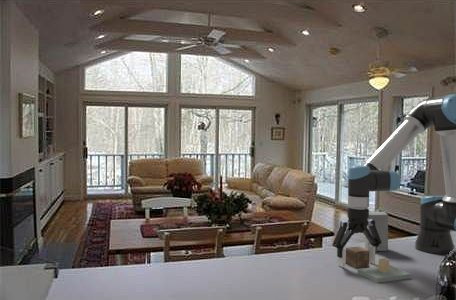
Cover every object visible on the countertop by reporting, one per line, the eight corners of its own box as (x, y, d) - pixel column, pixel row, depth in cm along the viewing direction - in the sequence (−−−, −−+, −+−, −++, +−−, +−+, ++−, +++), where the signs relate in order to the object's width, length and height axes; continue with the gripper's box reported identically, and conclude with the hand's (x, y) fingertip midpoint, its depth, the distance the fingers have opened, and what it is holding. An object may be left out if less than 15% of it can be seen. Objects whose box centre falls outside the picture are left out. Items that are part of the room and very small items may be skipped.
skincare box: (384, 247, 181) (384, 211, 181) (388, 252, 174) (389, 214, 174) (363, 246, 182) (364, 210, 182) (367, 251, 175) (368, 213, 175)
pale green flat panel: (389, 269, 151) (390, 254, 151) (410, 278, 142) (411, 262, 141) (357, 273, 146) (357, 257, 146) (377, 282, 137) (377, 266, 137)
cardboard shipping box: (358, 262, 160) (358, 246, 159) (369, 266, 154) (369, 250, 154) (345, 263, 157) (345, 247, 157) (355, 268, 152) (355, 251, 152)
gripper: (378, 204, 163) (377, 258, 163) (323, 207, 154) (322, 264, 155) (392, 207, 156) (390, 264, 156) (335, 210, 147) (334, 270, 148)
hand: (356, 264), depth 156 cm, fingers open, 13 cm apart
